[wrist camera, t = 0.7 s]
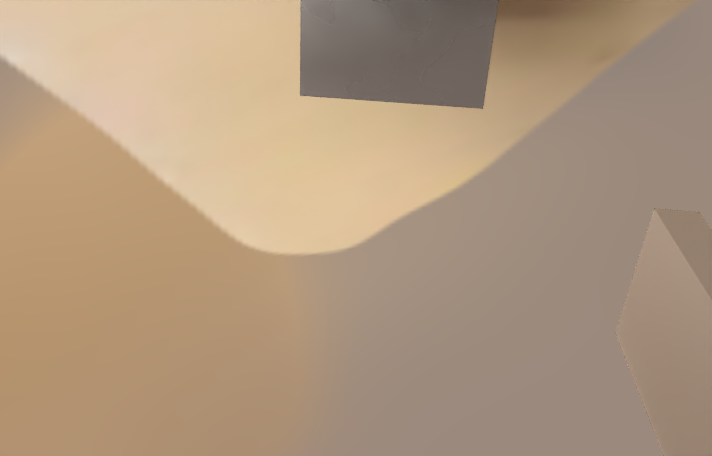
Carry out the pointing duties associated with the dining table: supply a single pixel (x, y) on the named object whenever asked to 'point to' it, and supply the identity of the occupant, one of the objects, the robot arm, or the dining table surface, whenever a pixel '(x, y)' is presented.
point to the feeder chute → (397, 50)
